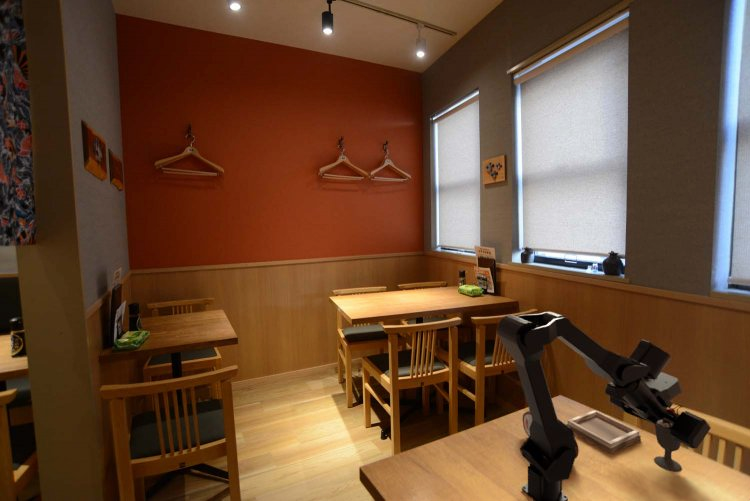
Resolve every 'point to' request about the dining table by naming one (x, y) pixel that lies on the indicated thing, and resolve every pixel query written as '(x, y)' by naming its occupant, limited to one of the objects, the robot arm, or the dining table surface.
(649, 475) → the dining table surface
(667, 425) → the sundae
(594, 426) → the board
